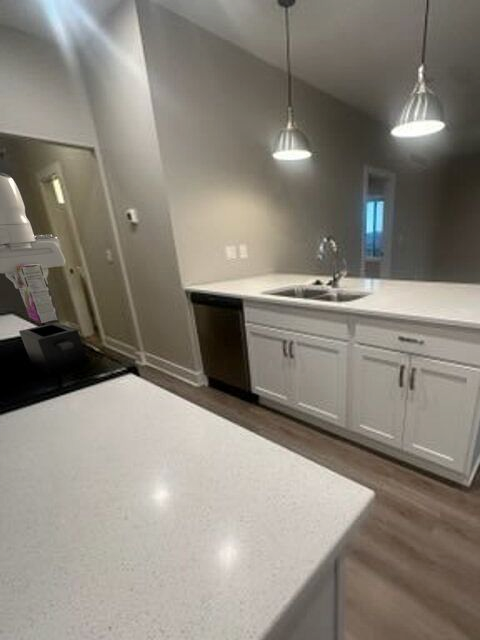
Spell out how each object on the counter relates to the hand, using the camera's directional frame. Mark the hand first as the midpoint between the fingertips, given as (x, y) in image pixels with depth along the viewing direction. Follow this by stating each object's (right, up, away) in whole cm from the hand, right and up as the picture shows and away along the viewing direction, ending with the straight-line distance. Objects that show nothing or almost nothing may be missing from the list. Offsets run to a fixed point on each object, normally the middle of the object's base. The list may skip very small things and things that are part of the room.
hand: (32, 286), depth 100 cm
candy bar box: (+1, -9, +4) cm, 10 cm away
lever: (+10, -18, 0) cm, 20 cm away
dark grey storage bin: (+1, -23, +9) cm, 25 cm away
